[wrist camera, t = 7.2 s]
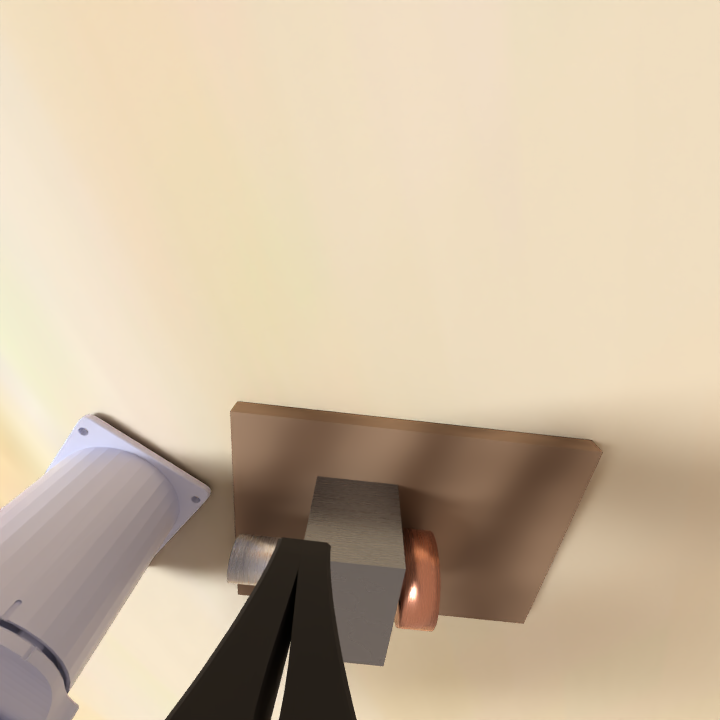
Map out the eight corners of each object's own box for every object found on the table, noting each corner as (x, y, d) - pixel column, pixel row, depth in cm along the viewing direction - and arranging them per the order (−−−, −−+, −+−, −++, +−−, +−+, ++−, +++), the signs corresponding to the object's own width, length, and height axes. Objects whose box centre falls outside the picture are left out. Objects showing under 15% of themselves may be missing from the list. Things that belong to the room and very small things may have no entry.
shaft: (430, 512, 19) (446, 592, 15) (416, 567, 21) (427, 652, 17) (248, 492, 19) (215, 568, 15) (249, 549, 21) (220, 631, 17)
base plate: (591, 440, 19) (602, 452, 18) (517, 607, 24) (523, 623, 23) (237, 401, 19) (230, 411, 18) (243, 579, 24) (238, 594, 23)
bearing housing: (397, 484, 19) (405, 568, 15) (380, 572, 22) (383, 666, 17) (317, 476, 19) (300, 557, 15) (310, 564, 22) (294, 657, 17)
